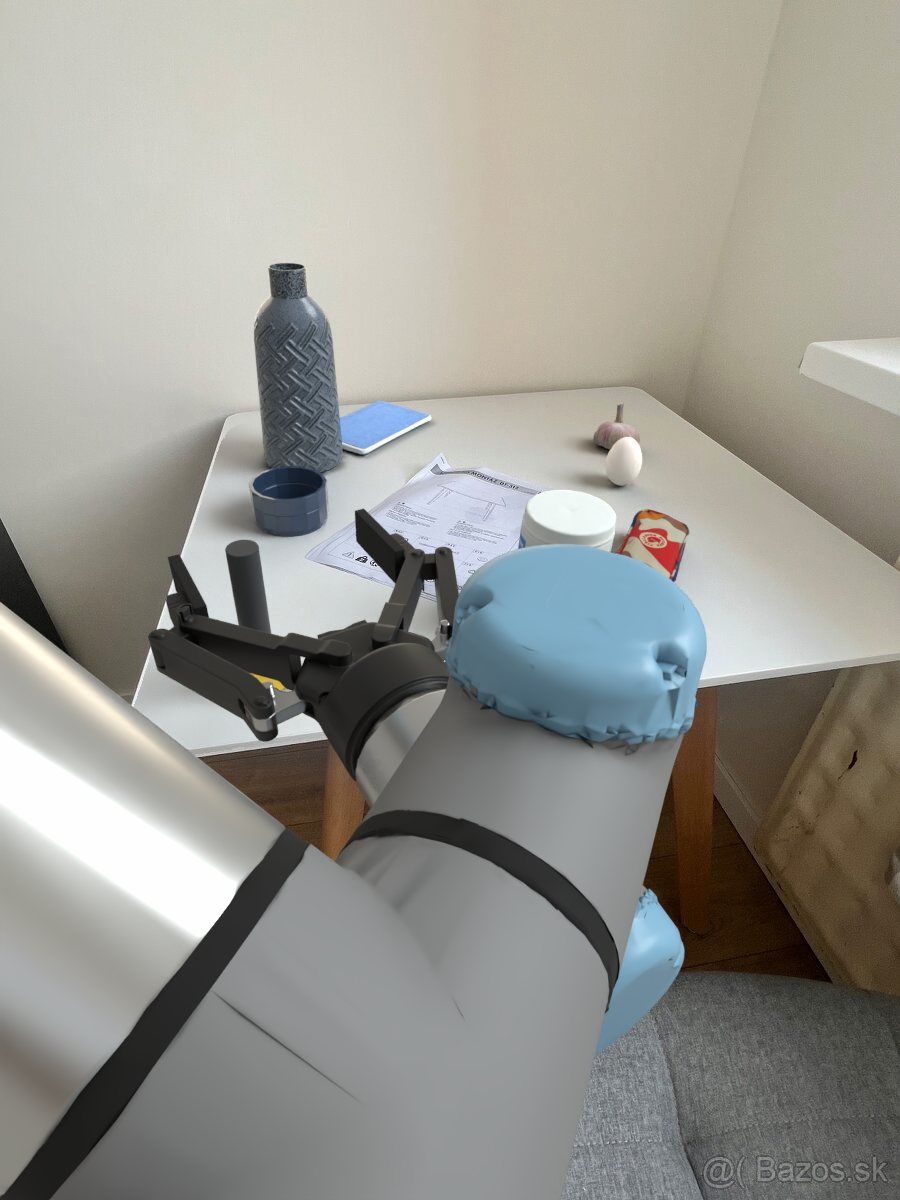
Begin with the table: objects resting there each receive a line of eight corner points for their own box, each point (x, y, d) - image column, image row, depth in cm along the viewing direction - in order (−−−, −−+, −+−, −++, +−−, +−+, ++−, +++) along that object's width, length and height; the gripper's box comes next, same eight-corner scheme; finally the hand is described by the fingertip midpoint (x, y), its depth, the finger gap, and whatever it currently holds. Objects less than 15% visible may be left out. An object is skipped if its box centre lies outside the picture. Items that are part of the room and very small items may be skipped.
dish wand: (235, 683, 69) (208, 546, 60) (269, 664, 72) (248, 530, 62) (258, 703, 67) (234, 565, 58) (292, 684, 70) (274, 548, 60)
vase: (346, 474, 107) (335, 276, 91) (265, 478, 105) (239, 276, 88) (339, 442, 117) (329, 257, 100) (265, 445, 115) (241, 257, 98)
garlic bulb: (584, 443, 120) (591, 398, 116) (616, 436, 123) (625, 392, 119) (612, 460, 115) (621, 414, 110) (645, 453, 118) (656, 407, 113)
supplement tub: (492, 613, 80) (503, 500, 72) (555, 589, 85) (573, 480, 76) (546, 661, 74) (565, 543, 65) (611, 633, 78) (637, 518, 70)
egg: (626, 474, 111) (635, 429, 107) (643, 490, 107) (653, 443, 103) (596, 478, 110) (604, 432, 105) (612, 493, 106) (621, 446, 101)
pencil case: (715, 557, 92) (725, 524, 89) (653, 627, 79) (663, 592, 76) (638, 528, 97) (645, 497, 94) (568, 591, 85) (574, 556, 82)
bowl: (240, 517, 96) (234, 480, 92) (300, 494, 102) (296, 459, 98) (283, 545, 90) (278, 508, 87) (343, 519, 96) (341, 483, 93)
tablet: (364, 457, 112) (364, 450, 112) (306, 437, 118) (306, 430, 117) (433, 422, 125) (433, 415, 125) (379, 405, 131) (378, 398, 130)
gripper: (183, 894, 33) (102, 640, 47) (591, 708, 43) (424, 548, 58) (147, 791, 28) (70, 545, 43) (612, 612, 39) (425, 465, 53)
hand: (273, 547), depth 50 cm, fingers open, 13 cm apart
